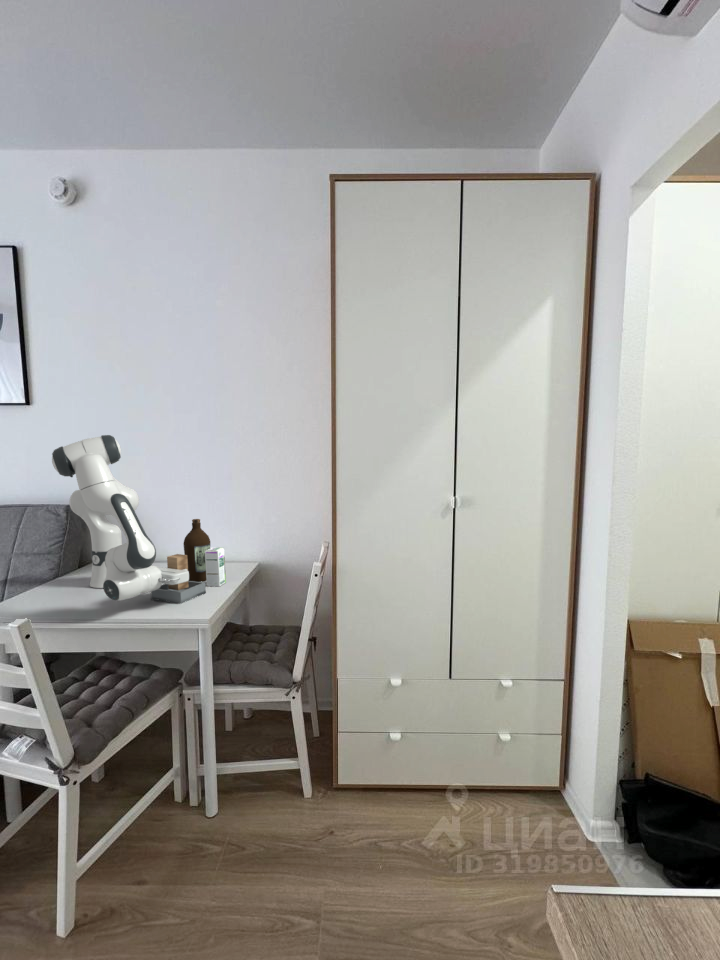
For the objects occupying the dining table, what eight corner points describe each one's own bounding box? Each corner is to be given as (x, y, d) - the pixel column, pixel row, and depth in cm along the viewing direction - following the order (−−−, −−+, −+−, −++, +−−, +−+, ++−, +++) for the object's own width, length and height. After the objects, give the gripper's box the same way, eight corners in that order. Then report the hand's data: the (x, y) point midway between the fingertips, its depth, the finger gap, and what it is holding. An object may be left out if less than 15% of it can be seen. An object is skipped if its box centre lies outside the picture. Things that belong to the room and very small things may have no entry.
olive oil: (179, 579, 228) (177, 519, 226) (202, 574, 236) (200, 516, 234) (194, 584, 221) (191, 522, 219) (216, 578, 229) (214, 519, 227)
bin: (177, 589, 214) (176, 579, 213) (205, 593, 208) (205, 582, 208) (151, 599, 201) (150, 588, 201) (181, 603, 196) (180, 592, 195)
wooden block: (178, 590, 201) (176, 557, 200) (168, 588, 203) (167, 556, 202) (188, 587, 205) (187, 555, 204) (178, 585, 208) (177, 554, 207)
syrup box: (220, 586, 217) (218, 550, 215) (206, 586, 218) (204, 550, 217) (226, 583, 222) (224, 547, 221) (212, 582, 223) (211, 547, 222)
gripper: (170, 572, 187) (200, 564, 199) (129, 566, 197) (159, 559, 209) (171, 591, 188) (201, 581, 200) (130, 584, 197) (160, 575, 209)
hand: (179, 570), depth 204 cm, fingers closed on wooden block, 5 cm apart
